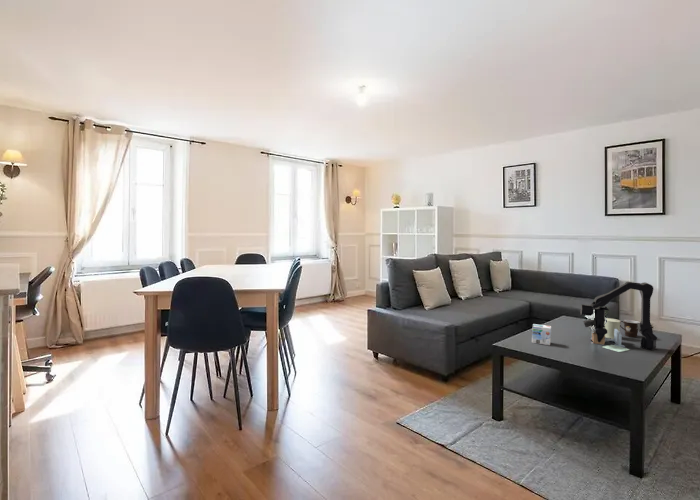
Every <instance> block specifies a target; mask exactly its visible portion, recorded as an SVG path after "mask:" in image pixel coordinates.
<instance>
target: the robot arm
mask: <svg viewBox="0 0 700 500" xmlns="http://www.w3.org/2000/svg"><path fill="white" fill-rule="evenodd" d="M629 290H635V291H639V293H640V297H641V305H640V306H641V309H640V311H641V314H640V317H641V319H640V321H638V322H640V323H638V322H637V324H638V327H637V329H638V333H640V334H641V335H642V337H641V339H640V346H639V348H641V349H645V350H648V351H654V350H658V348H657V339H658V337H657V336H656V335H655V334H654V330H653V326H652V324H651V298H652V296H653V293H654V286H653V285H652V284H650V283H649V282H648V283H647V282H634V281H633V282H632V281H625V283H622V284H621V285H619V286H618V287H616V288H614V289H612V290H611V291H609V292H607V293H604V294H601V295H597V296H596V297H595V298H594V300H593V301H592V302H591V303H590V304H585V303H584V304H581V305H580V315H581V316H588V317H590V316H591V317H592V316H593V315H594V313H595V318H594V320H591V319H586V320H583V321H582V322H583V326H584V327H585V328H589V327H592V326H593V325H594V327H595V330H593V332H595V333H596V334H597V339H598V342H601V340H602V338H603V337H604V335H605V334H607V329H606V328H604V327H605V325H604V324H605V318H606V317H605V316H606V311H610V309H609V308H608V306H607V304H609V303H610V302H611V301H612V300H613V299H614V298H616V297H618V296H620V295H623V293H625V292H627V291H629Z"/></svg>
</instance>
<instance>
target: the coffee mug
mask: <svg viewBox="0 0 700 500" xmlns="http://www.w3.org/2000/svg"><path fill="white" fill-rule="evenodd" d="M637 322H638V323H640V322H641V321H639V320H631V319H624V320H623V321H622V320H620V323H623V325H624V327H623V326H622V325H621V324H620V329H622V330H623V331H624V336H625V337H628V338H635V339H636V338H637V337H638V333H639V330H638V329H637V327H638V324H637Z"/></svg>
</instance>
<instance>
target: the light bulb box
mask: <svg viewBox="0 0 700 500" xmlns="http://www.w3.org/2000/svg"><path fill="white" fill-rule="evenodd" d="M531 332H532V333H531V343H533V344H539V345H546V346H550V345H551V341H552V326H551V325H544V324H536V323H533V324H532V329H531Z"/></svg>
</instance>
